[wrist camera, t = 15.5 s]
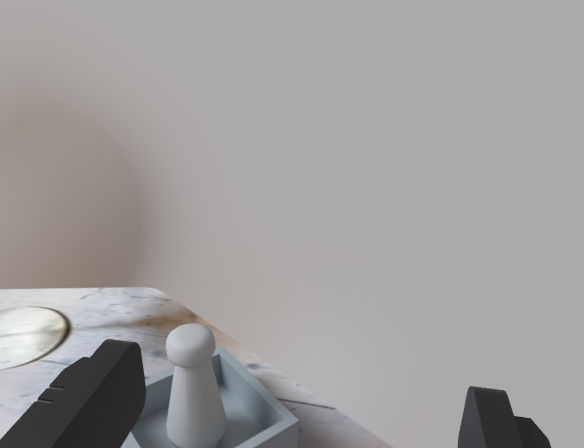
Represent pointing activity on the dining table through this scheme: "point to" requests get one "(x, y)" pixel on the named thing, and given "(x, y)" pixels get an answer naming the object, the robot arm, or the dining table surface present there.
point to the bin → (237, 404)
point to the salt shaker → (194, 390)
